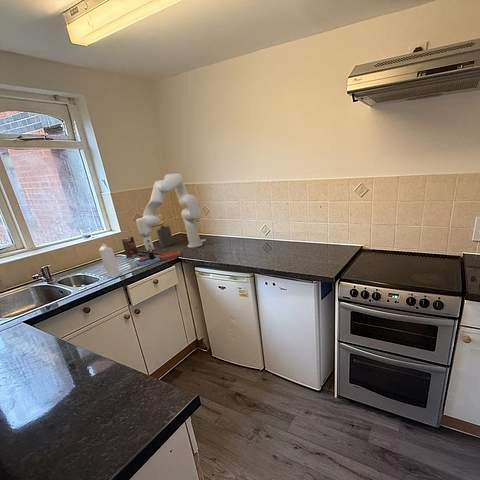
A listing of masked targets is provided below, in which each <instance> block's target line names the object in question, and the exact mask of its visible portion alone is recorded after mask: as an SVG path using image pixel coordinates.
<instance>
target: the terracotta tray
mask: <svg viewBox="0 0 480 480" xmlns="http://www.w3.org/2000/svg"><path fill="white" fill-rule="evenodd" d="M157 256H158V257H159V258H160V260H161V261H166V260H170V259H174V258H177V257H181V256H182V252H181V251H179V250H172V251H168V252H164V253H160V254H157ZM161 261H160V262H161Z"/></svg>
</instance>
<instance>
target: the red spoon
mask: <svg viewBox="0 0 480 480" xmlns="http://www.w3.org/2000/svg"><path fill="white" fill-rule="evenodd" d="M153 254H154V256H155V255H156V254H155V253H153ZM147 257H149V255H148V254H147V255H145V256H140V257H139V259H143V258H147Z"/></svg>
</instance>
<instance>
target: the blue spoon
mask: <svg viewBox="0 0 480 480" xmlns="http://www.w3.org/2000/svg"><path fill="white" fill-rule="evenodd" d="M154 258H156V256H154ZM138 260H139V259H138ZM146 260H150V257H148V258H145V259H141V260H139V261H140V262H145V261H146Z"/></svg>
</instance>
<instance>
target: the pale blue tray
mask: <svg viewBox="0 0 480 480" xmlns="http://www.w3.org/2000/svg"><path fill="white" fill-rule="evenodd" d="M155 256H156V258H155V259H152V260H146V261H145V262H140V261H139V260H141V259H140V258H139V259H136V260H135V262H136V264H137V265H138V266H139V267H141V266H145V265H149V264H153V263H158V262H161V260H160V258H159V257H158V254H155ZM147 258H148V257H147ZM143 259H145V258H143Z"/></svg>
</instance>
